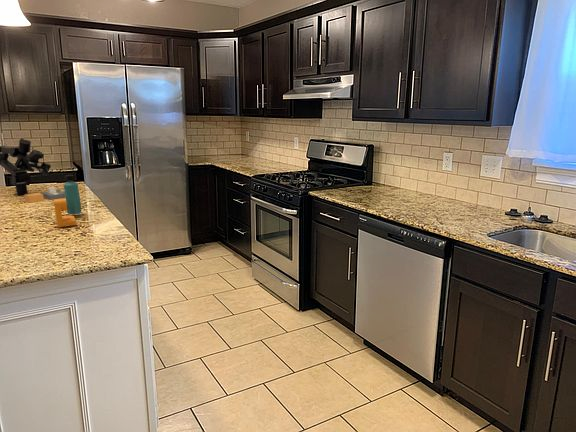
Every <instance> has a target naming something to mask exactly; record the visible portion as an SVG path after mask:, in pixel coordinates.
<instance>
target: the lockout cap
mask: <svg viewBox="0 0 576 432" xmlns="http://www.w3.org/2000/svg"><path fill="white" fill-rule="evenodd" d="M24 201H25V202H27V203H29V204H31V203H39V202H44V201H45V198H44V197H43V194H40V192H35V193H34V192H33V193H30V194H26V195H24Z"/></svg>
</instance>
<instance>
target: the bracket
mask: <svg viewBox="0 0 576 432" xmlns="http://www.w3.org/2000/svg"><path fill="white" fill-rule="evenodd" d="M53 206H54V214H55V220H56V221H55V222H56V226H57V228H63V227H71V226H77V220H76V218H75V216H74V215H66V216H63V213H62V212H65V211H66V212H67V203H66V198H60V199H53Z"/></svg>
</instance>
